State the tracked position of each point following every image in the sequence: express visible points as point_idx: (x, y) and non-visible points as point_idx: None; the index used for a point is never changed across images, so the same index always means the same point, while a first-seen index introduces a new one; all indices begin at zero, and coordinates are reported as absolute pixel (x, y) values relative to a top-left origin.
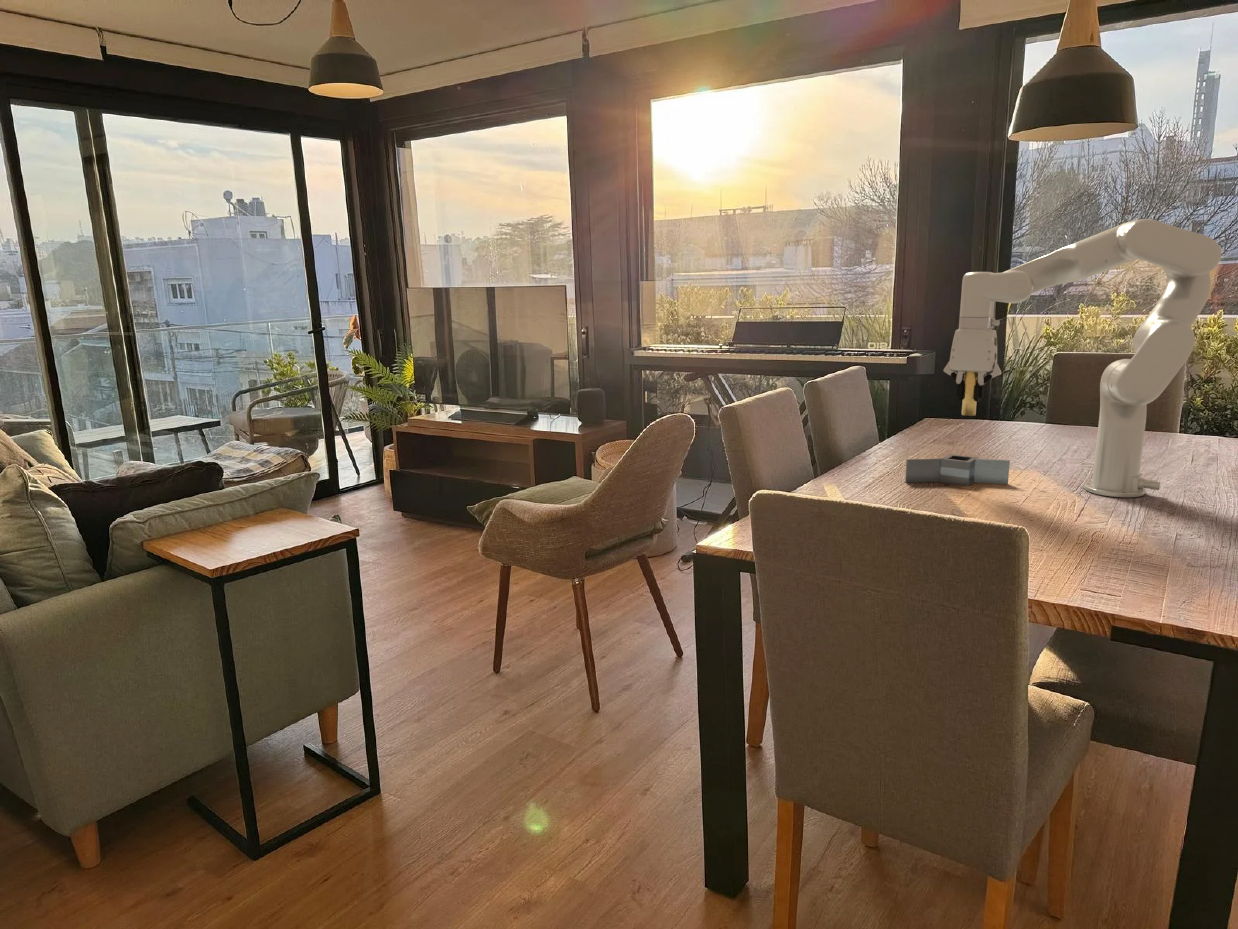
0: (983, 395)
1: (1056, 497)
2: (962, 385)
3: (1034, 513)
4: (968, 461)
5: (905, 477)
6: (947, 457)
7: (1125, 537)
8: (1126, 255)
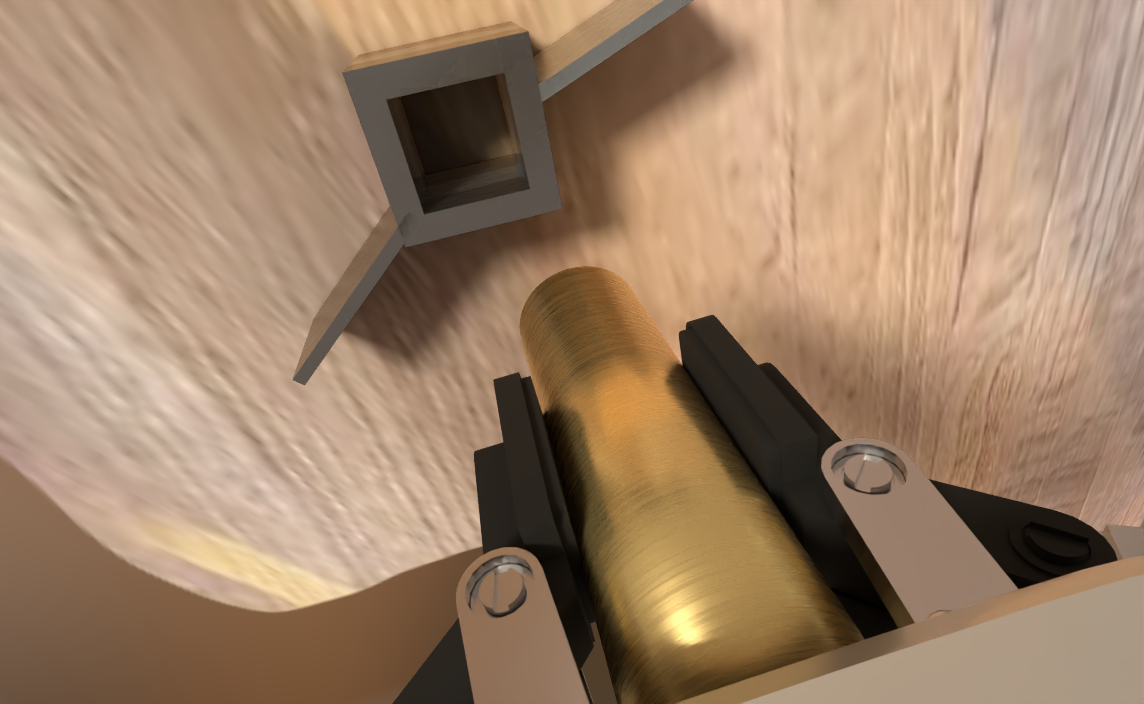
0: (773, 366)
1: (891, 61)
2: None
3: (849, 330)
4: (545, 193)
5: (310, 329)
6: (400, 183)
7: (1059, 355)
8: None
